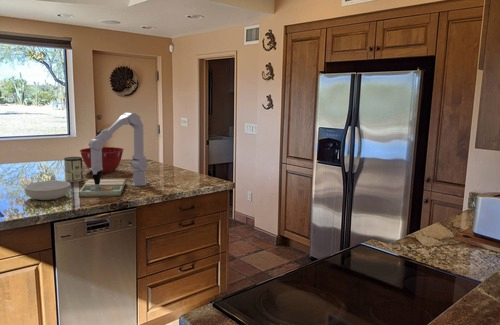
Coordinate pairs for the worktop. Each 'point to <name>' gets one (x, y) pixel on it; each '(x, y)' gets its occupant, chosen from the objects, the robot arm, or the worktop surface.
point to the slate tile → (95, 189)
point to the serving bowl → (47, 189)
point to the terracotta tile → (107, 189)
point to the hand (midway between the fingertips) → (97, 184)
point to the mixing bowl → (104, 158)
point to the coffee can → (73, 169)
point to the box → (86, 191)
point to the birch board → (106, 182)
